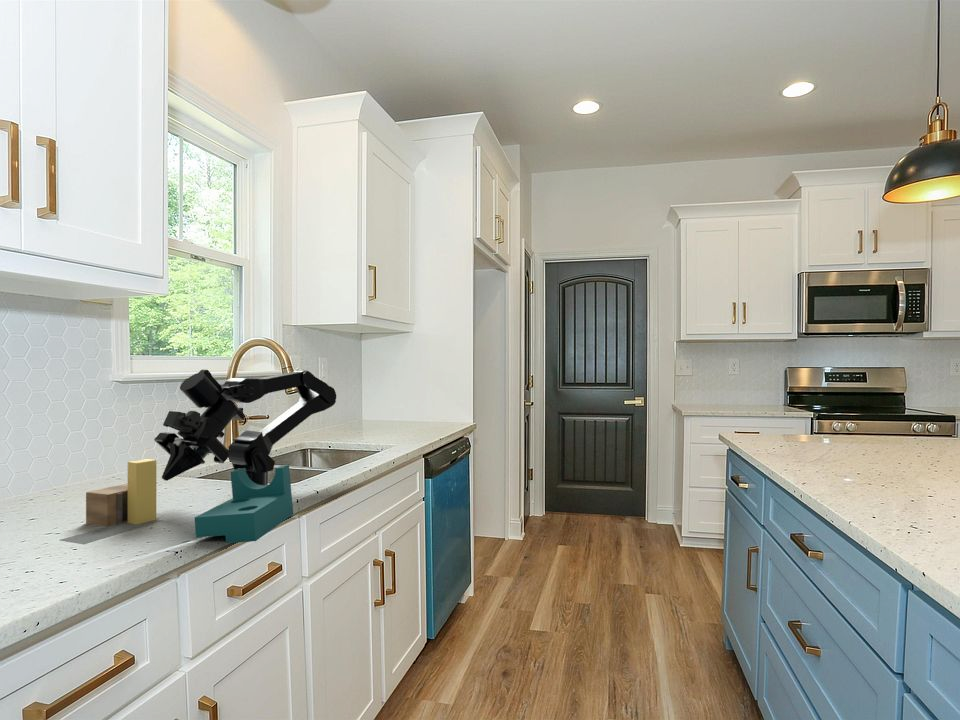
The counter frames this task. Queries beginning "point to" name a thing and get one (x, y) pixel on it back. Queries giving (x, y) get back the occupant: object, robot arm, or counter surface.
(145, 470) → the yellow block
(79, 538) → the mat
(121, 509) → the brown box
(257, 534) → the teal l-shaped bracket
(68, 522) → the counter surface
